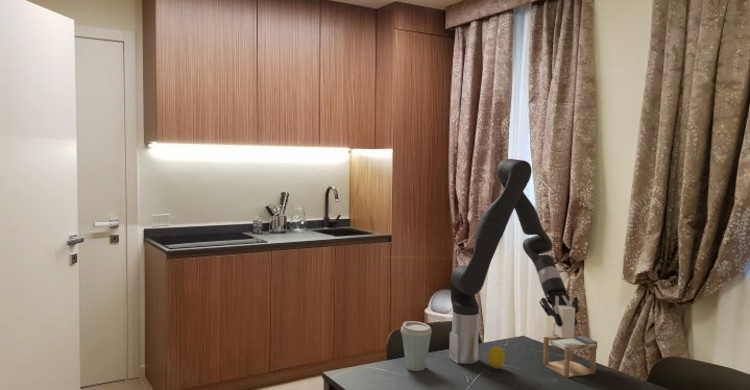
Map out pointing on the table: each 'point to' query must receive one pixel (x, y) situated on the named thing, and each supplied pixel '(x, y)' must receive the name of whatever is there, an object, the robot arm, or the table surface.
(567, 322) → the block
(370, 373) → the table surface
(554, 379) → the table surface
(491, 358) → the lemon
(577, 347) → the frame
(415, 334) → the disposable coffee cup
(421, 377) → the table surface
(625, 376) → the table surface
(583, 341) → the door
